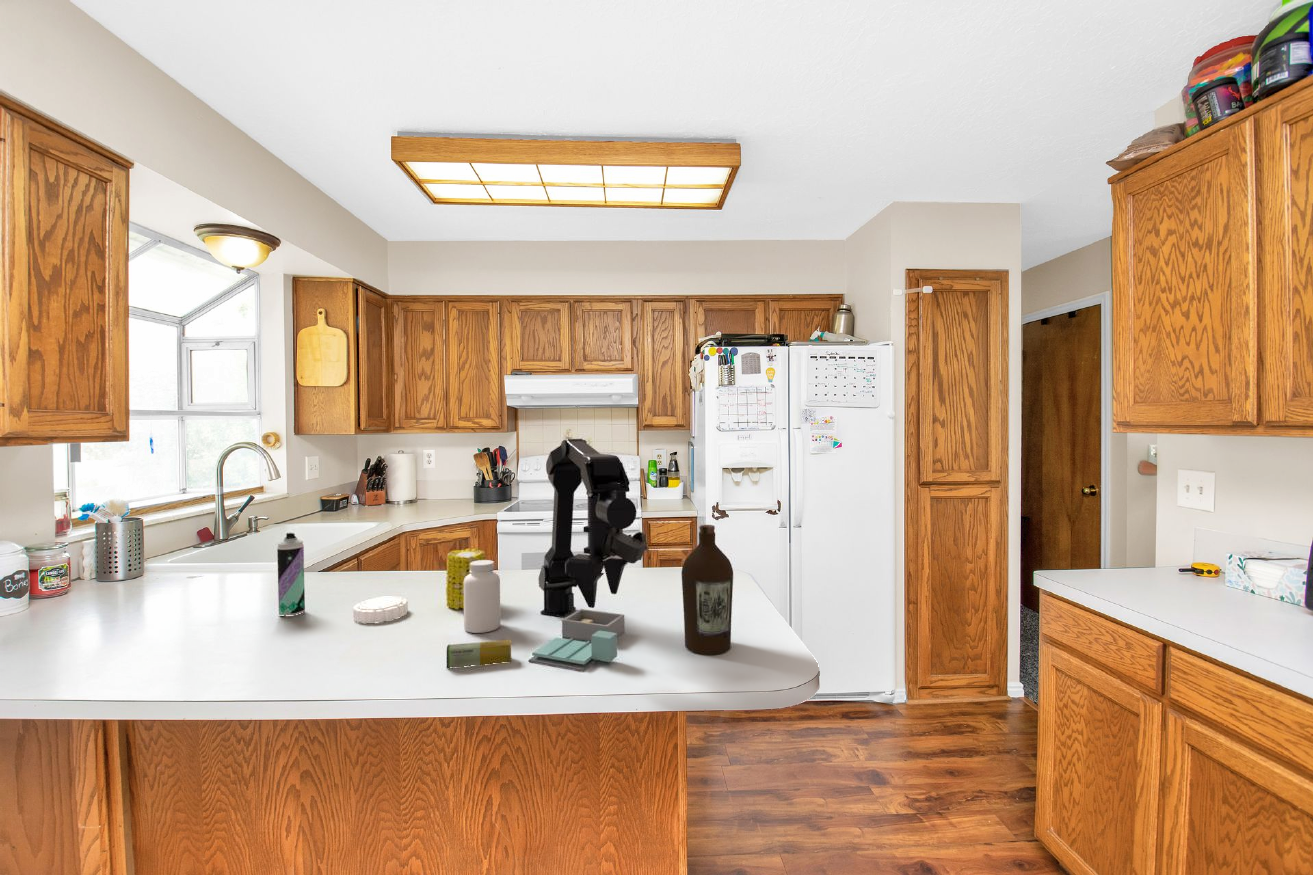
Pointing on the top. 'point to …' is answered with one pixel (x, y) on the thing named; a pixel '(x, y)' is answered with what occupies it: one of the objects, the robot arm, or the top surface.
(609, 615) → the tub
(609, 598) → the top surface
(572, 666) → the mat
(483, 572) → the pill bottle
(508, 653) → the medication box
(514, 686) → the top surface
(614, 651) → the lid
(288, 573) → the spray can
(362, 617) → the mooncake
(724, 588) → the olive oil
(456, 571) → the food
